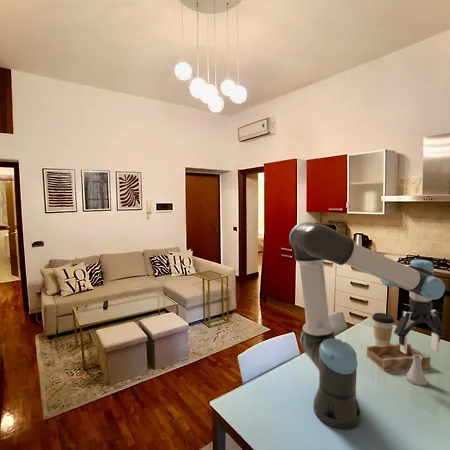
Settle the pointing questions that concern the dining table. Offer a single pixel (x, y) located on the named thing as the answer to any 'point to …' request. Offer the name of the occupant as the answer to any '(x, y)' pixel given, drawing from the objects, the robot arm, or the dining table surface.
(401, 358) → the wooden tray
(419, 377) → the flask
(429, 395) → the dining table surface
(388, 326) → the coffee cup
